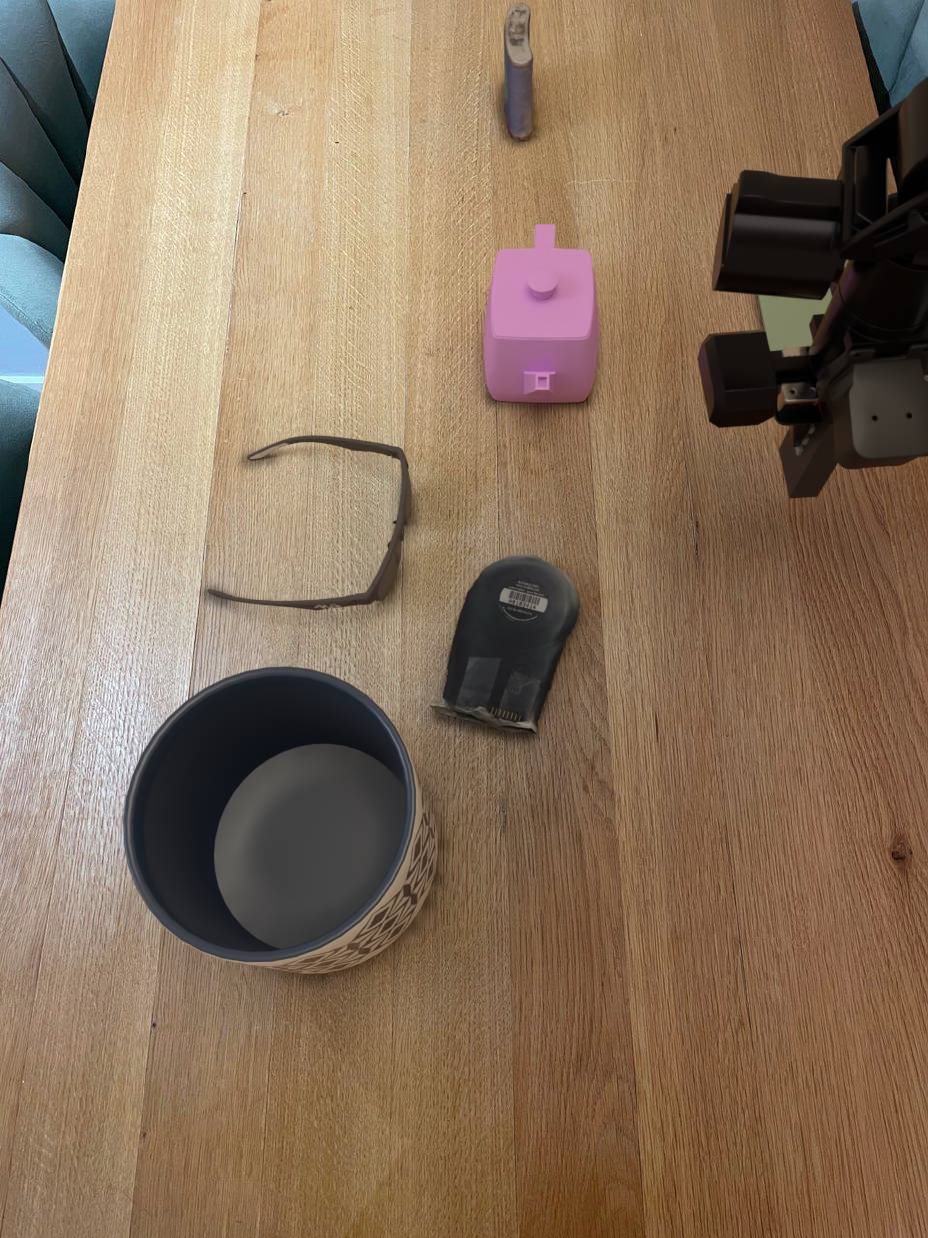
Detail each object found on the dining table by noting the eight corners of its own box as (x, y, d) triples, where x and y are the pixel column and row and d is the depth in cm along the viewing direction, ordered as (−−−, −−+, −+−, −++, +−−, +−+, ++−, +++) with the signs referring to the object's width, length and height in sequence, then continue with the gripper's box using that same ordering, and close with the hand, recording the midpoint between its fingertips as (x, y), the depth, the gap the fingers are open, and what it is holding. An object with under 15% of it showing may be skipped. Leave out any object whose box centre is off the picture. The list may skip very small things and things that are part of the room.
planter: (205, 746, 76) (127, 680, 61) (429, 722, 76) (406, 650, 61) (202, 986, 69) (113, 979, 54) (449, 961, 69) (429, 947, 54)
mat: (744, 229, 94) (745, 226, 93) (836, 223, 93) (837, 220, 93) (770, 361, 87) (771, 358, 87) (868, 355, 87) (869, 352, 87)
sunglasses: (396, 633, 79) (381, 609, 74) (212, 616, 82) (188, 592, 78) (431, 465, 85) (420, 433, 80) (259, 455, 88) (239, 424, 84)
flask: (532, 141, 100) (534, 45, 90) (505, 142, 100) (503, 47, 90) (529, 80, 103) (530, -19, 93) (502, 81, 103) (500, -17, 94)
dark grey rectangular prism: (806, 447, 74) (849, 366, 65) (817, 497, 72) (863, 421, 63) (774, 449, 74) (812, 369, 65) (785, 499, 72) (826, 424, 63)
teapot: (595, 441, 85) (605, 369, 76) (479, 438, 86) (474, 368, 76) (597, 284, 92) (605, 201, 82) (489, 283, 93) (485, 200, 83)
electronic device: (548, 746, 76) (592, 573, 79) (538, 734, 71) (585, 550, 74) (440, 720, 79) (487, 554, 82) (423, 706, 73) (473, 530, 77)
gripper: (751, 419, 52) (702, 548, 66) (1097, 392, 51) (971, 527, 66) (719, 262, 56) (679, 415, 71) (1037, 235, 56) (931, 395, 70)
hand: (813, 440), depth 69 cm, fingers closed on dark grey rectangular prism, 2 cm apart
